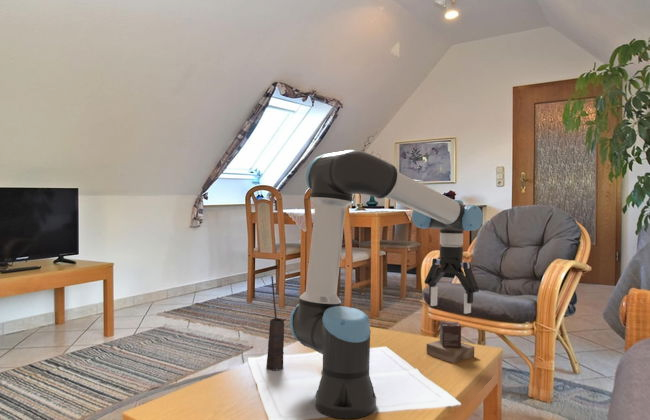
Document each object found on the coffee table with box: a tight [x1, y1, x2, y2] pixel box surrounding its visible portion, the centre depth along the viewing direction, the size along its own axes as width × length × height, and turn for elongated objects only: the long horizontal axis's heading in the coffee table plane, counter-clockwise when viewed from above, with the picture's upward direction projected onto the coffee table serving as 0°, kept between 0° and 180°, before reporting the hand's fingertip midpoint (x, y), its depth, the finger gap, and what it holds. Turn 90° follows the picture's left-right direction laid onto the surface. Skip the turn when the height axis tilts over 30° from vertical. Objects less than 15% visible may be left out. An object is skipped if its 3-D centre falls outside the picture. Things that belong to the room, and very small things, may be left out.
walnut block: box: [426, 340, 475, 364], centre depth 152 cm, size 11×11×4 cm
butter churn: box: [265, 275, 287, 371], centre depth 138 cm, size 9×10×28 cm
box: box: [439, 320, 462, 348], centre depth 152 cm, size 6×6×7 cm
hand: (450, 309), depth 152 cm, fingers open, 13 cm apart
